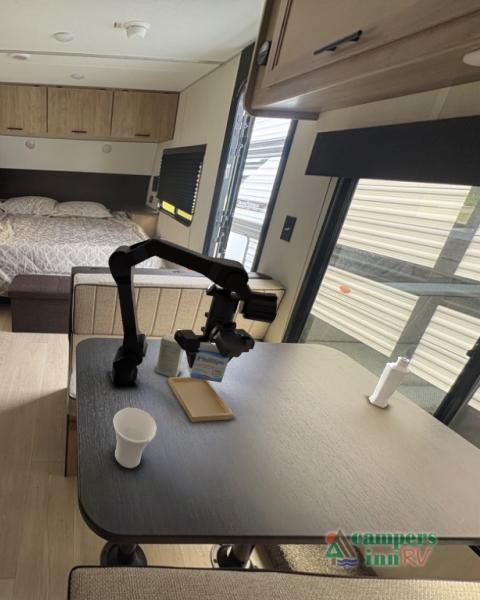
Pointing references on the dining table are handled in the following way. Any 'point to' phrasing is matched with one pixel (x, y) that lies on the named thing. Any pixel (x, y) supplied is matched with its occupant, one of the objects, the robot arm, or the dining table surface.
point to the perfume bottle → (390, 381)
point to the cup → (132, 435)
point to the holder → (199, 399)
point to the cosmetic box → (169, 356)
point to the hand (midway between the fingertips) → (206, 367)
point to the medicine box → (208, 364)
